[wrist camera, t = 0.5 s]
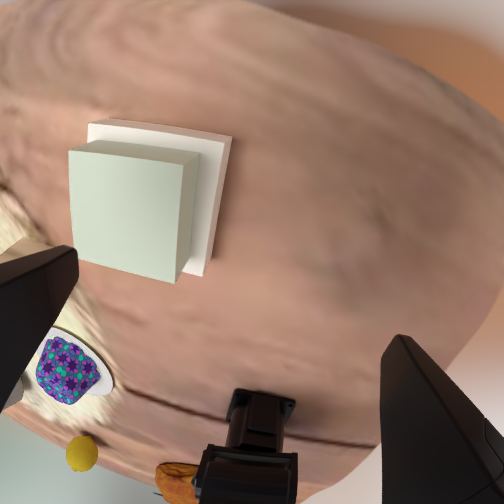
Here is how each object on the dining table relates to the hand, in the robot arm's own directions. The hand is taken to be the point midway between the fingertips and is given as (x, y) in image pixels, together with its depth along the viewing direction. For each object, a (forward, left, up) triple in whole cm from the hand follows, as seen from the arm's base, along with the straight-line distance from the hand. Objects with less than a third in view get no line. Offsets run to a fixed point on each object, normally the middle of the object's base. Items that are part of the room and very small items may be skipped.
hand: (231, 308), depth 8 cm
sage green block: (-3, +7, -11) cm, 14 cm away
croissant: (-53, 0, -14) cm, 55 cm away
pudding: (-27, +18, -14) cm, 35 cm away
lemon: (-50, +20, -14) cm, 56 cm away
